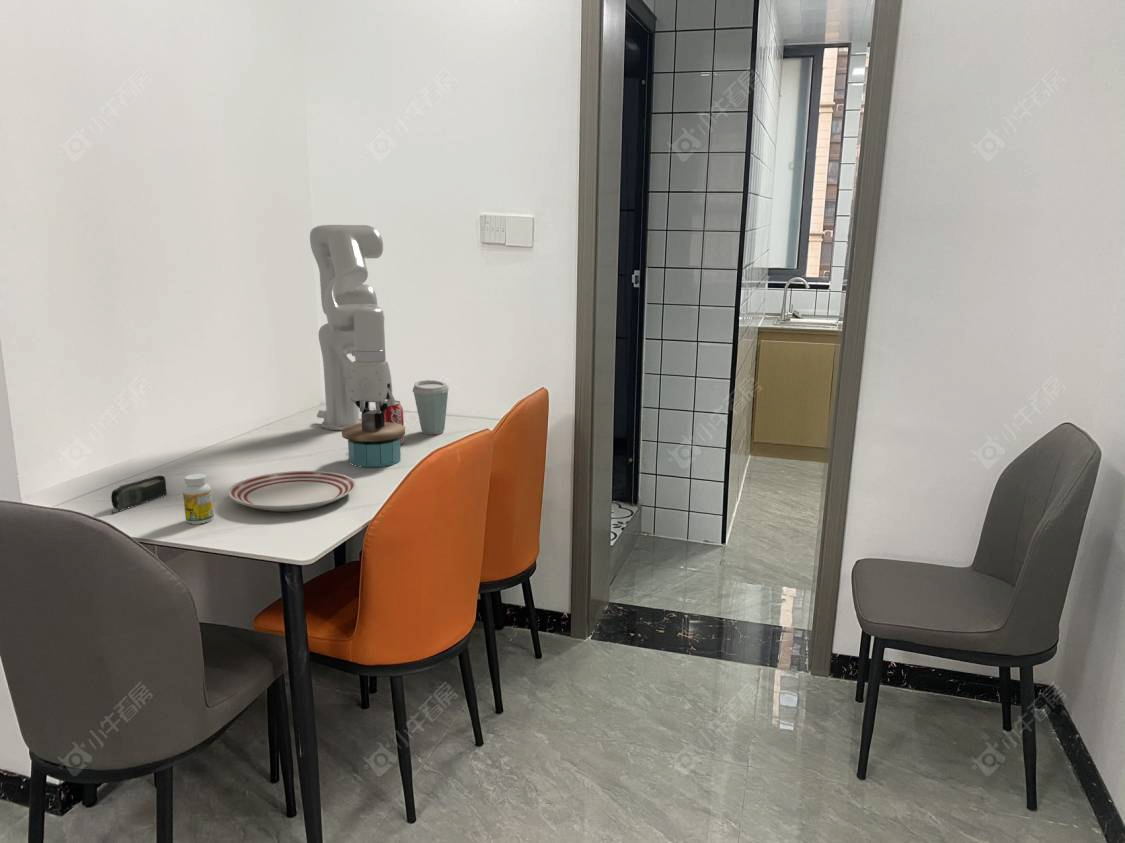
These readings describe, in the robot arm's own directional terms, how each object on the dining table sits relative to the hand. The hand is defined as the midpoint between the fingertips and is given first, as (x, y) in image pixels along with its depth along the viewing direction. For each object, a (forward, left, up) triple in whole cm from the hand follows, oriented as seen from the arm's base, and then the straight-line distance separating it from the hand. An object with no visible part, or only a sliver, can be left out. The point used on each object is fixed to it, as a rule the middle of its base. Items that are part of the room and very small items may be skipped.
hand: (373, 426), depth 218 cm
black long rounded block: (-30, -48, -10) cm, 58 cm away
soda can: (-5, +16, -9) cm, 19 cm away
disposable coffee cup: (-1, +32, -9) cm, 33 cm away
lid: (0, 0, -2) cm, 2 cm away
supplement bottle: (-9, -52, -9) cm, 54 cm away
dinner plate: (0, -33, -10) cm, 34 cm away
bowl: (0, 0, -9) cm, 9 cm away
